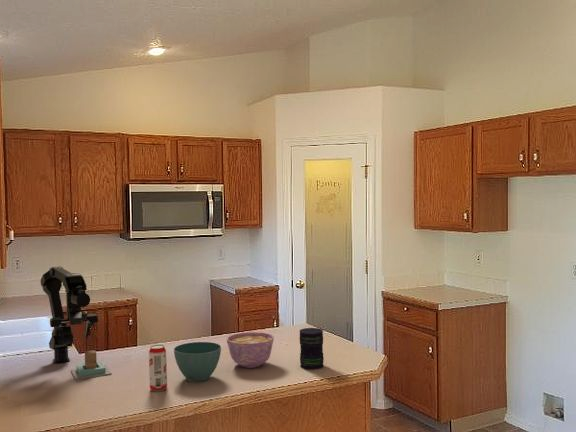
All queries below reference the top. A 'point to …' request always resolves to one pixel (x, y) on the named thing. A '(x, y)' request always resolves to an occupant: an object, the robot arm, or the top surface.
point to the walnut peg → (90, 359)
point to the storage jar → (311, 348)
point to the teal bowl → (197, 359)
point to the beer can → (157, 368)
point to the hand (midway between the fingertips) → (74, 340)
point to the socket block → (90, 371)
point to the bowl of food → (250, 348)
